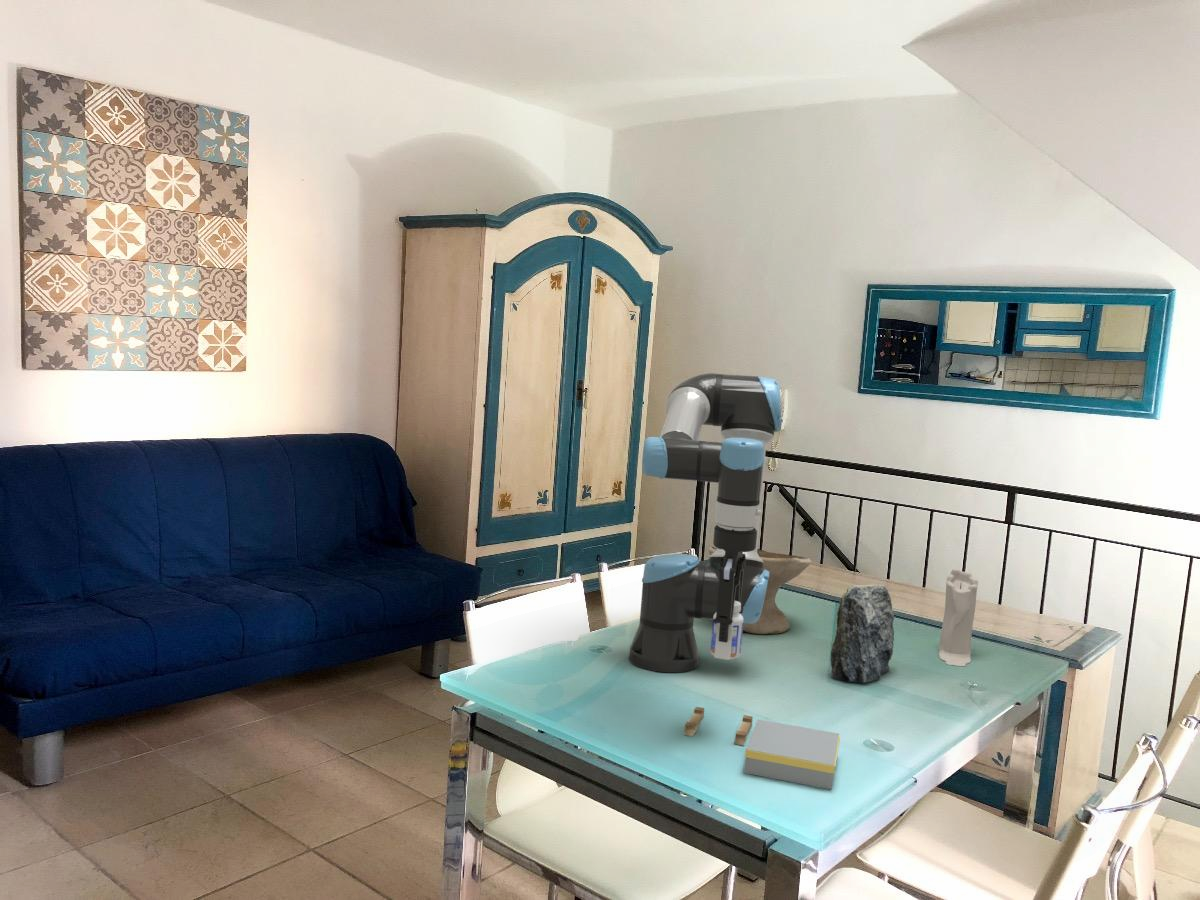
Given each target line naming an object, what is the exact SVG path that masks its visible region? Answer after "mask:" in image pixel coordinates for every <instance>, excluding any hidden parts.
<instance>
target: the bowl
mask: <svg viewBox="0 0 1200 900" xmlns="http://www.w3.org/2000/svg"><path fill="white" fill-rule="evenodd" d="M716 550H717V547H715V546H711V547H710V546H709V548H708V552H709V553H708V554H709V556H710V555H712V554H713V553H714V552H715V551H716ZM757 553H758V556H759V557H760V558H761V559H762V560H763V562H764V563H763V570H767V571H769V579H768V584H767V589H766V594H765V598H764V603H763V607H762V611H761V615H760V618H759V620H758V621H757V622H755V623H752V624H749V623H743V632H744V633H748V634H758V635H770V634H775V635H776V634H783V633H785V632H787V631H788V630H789V629H790V628H791V627H790V623H789V620H788V617H787V616H786V615H785V613H784V612H783V611H782V610H781V609H780V608H778V606H777V603H776V596H777V593H778V591H779V589H780V588H781V586H783V585H785V584H786V583H789V582H790V581H792V580H793V579H795V578H796V577H798V576H799V575H800V574H801V573H803V572H804V571H805V570H806V569H807V568H808V567H809V566H810V565H811V563H812V560H811V559H810V558H809V557H804V556H798V555H792V554H791V555H789V554H783V553H777V552H776V553H775V552H769V551H764V550H759V549H757Z"/></svg>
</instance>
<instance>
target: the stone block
mask: <svg viewBox="0 0 1200 900" xmlns="http://www.w3.org/2000/svg"><path fill="white" fill-rule="evenodd" d="M836 616H837V617H836V630H835V636H834V639H833V643H832V646H831V650H830V664H831V665H830V667H831V674H832V676H831V677H830V678H831V679H834V680H839V681H843V682H847V683H849V682H851V683H853V682H854V683H863V684H864V683H865V684H866V683H869V682H872V681H875V680H879V679H881V678H882V675H883V674H885V673H887V672H888V671H889V669H890V666H889V662H890V661H891V660H892V655H893V654H894V646H895V645H894V641H895V630H894V620H895V618H894V617H895V616H894V611H893V604H892V597H891V595H890V593H889V591H888V589H887V587H886V586H885V585H884V584H875V583H874V584H873V583H872V584H862V585H861V584H860V585H857V584H853V585H850V586H849V587H848V588H846V592H844V593H843V595H842V596H841V599H840V602H839V605H838V610H837V612H836Z"/></svg>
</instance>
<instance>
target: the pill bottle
mask: <svg viewBox="0 0 1200 900" xmlns="http://www.w3.org/2000/svg"><path fill="white" fill-rule="evenodd" d="M740 610H741V603H740V602H738V601H735V602H734V610H733V618H732V620H733V622H732V623H733V633H732V644H731V656H730V660H734V659H738V658H739V657H740V656H741V651H742V642H743V633H744V631H743V616H742V615H741V614H739V612H740ZM716 613H717V612H716ZM716 613H715V614H714V616H713V619H715V618H716ZM711 629H712V631H711V639H710V654H711V655H712V656H713V657H714V656H715V644H716V632H717V623H716V622H713V621H712V627H711Z"/></svg>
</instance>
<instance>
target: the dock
mask: <svg viewBox="0 0 1200 900" xmlns="http://www.w3.org/2000/svg"><path fill="white" fill-rule="evenodd" d="M840 738H841V734H840V733H838V732H832V731H828V730H827V731H826V730H821V729H815V728H809V727H803V726H800V725H799V726H798V725H792V724H787V723H780V722H775V721H768V720H763V719H759V718H758V719H757V721H756V723H755V726H754V728H753V731H752V733H751V736H750V737H749V741H748V743H747V747H746V749H745V753H744V758H745V759H744V770H743V773H744V774H749V775H754V776H759V777H764V778H769V779H775V780H781V781H786V782H791V783H797V784H802V785H805V786H811V787H817V788H822V789H827V790H833V783H834V777H835V771H836V766H837V765H836V764H837V759H838V752H839V746H840Z"/></svg>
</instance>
